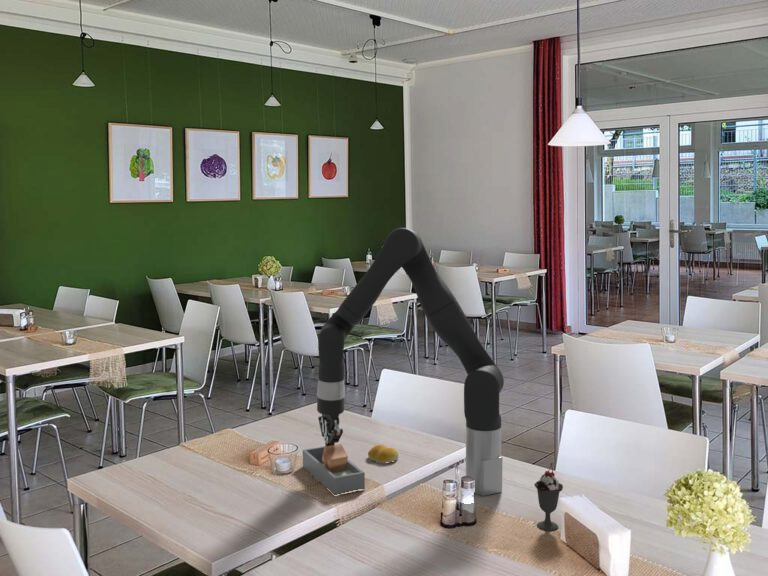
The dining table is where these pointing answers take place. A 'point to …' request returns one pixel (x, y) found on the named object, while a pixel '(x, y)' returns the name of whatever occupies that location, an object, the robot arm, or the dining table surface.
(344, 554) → the dining table surface
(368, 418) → the dining table surface
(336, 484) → the trap box
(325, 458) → the block
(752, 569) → the dining table surface
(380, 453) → the bread roll
